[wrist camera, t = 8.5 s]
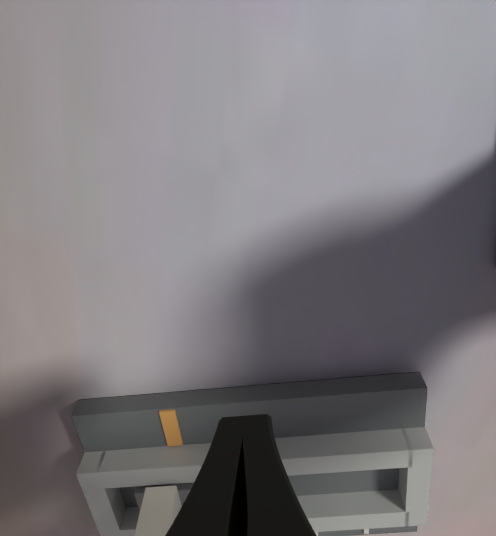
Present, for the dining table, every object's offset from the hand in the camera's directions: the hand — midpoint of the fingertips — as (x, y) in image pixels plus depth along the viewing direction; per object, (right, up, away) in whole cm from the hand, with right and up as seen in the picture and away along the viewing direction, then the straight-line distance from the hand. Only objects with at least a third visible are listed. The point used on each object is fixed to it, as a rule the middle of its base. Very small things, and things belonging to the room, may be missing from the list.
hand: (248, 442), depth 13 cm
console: (0, -6, +14) cm, 16 cm away
